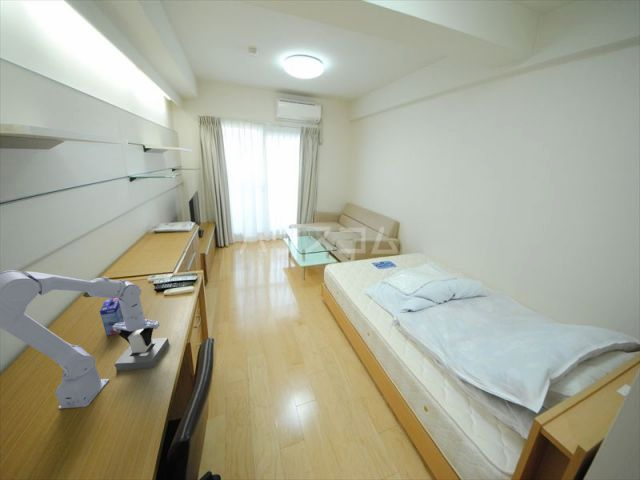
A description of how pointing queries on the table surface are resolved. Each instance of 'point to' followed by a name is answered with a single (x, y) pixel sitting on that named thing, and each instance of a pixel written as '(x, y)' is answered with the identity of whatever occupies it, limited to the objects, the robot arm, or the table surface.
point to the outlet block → (142, 356)
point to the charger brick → (137, 342)
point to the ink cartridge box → (111, 315)
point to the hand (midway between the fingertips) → (141, 344)
